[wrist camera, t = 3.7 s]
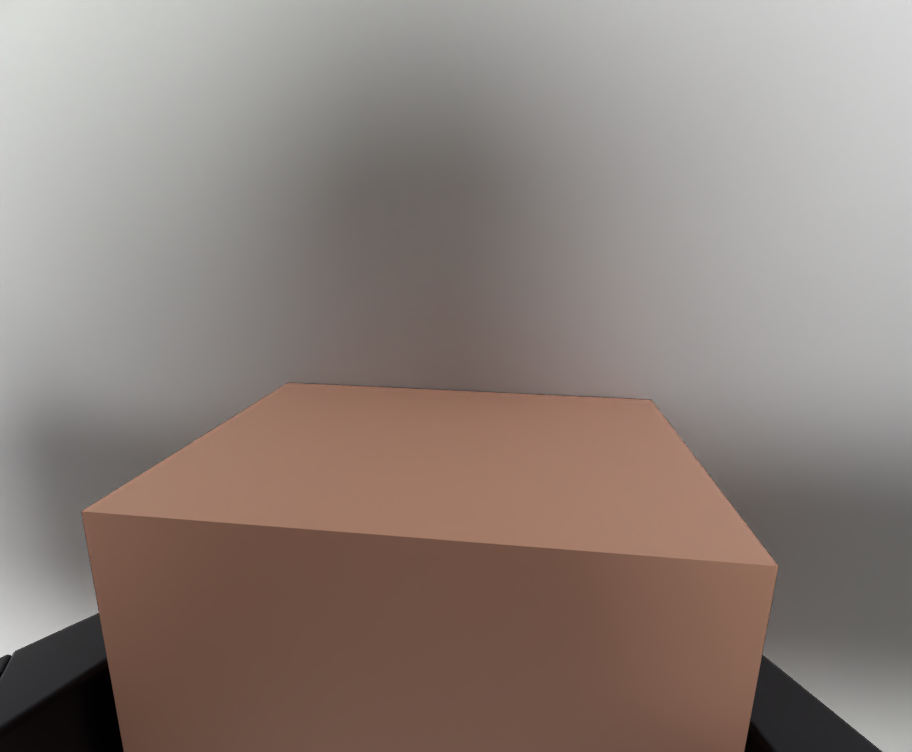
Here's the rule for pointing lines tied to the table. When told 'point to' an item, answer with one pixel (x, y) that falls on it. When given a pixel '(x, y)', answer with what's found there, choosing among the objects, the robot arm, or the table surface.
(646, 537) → the terracotta brick
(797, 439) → the table surface
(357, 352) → the table surface
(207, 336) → the table surface
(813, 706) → the robot arm
